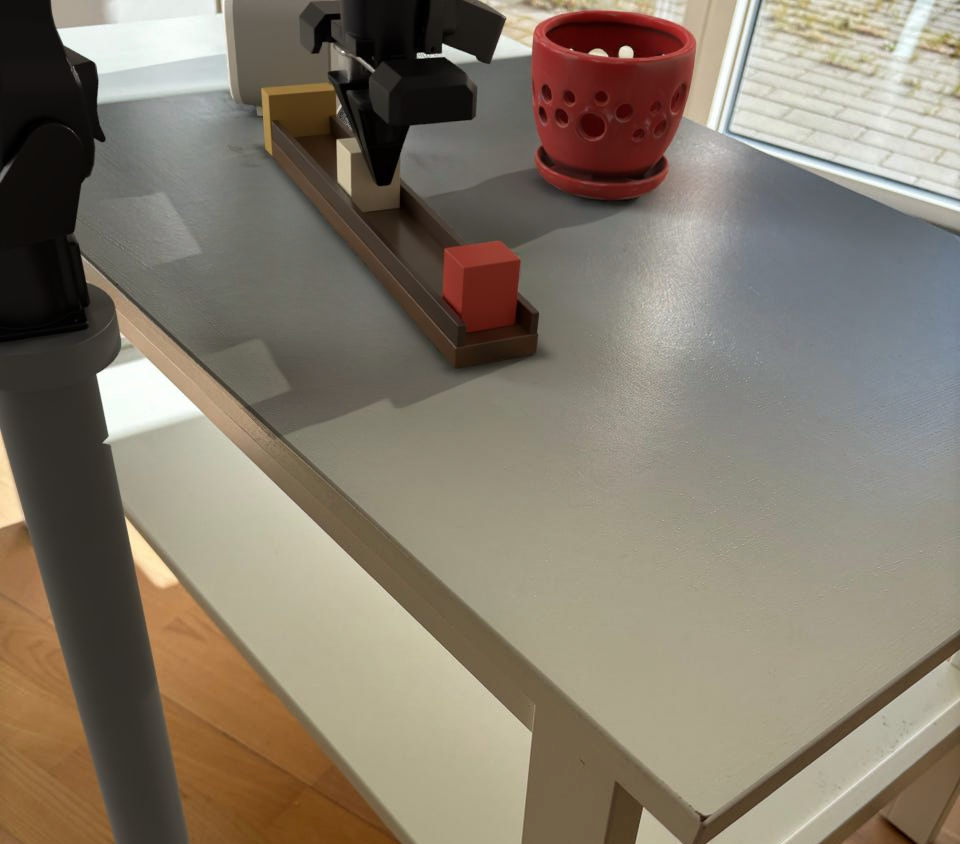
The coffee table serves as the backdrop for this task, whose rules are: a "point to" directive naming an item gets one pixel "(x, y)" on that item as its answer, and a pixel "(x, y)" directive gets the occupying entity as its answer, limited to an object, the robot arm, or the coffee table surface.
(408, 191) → the rail
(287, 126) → the left stop
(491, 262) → the block
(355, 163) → the block
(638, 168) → the flower pot
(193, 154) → the coffee table surface
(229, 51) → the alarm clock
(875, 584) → the coffee table surface
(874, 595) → the coffee table surface
